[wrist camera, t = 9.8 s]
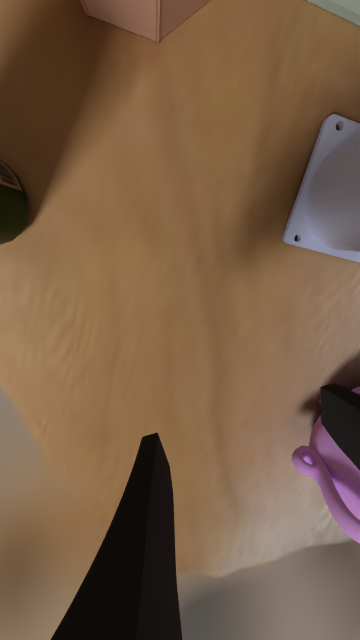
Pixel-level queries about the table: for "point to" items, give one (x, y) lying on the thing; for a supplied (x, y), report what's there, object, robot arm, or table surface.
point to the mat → (341, 8)
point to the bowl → (143, 14)
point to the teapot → (332, 476)
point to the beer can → (11, 204)
